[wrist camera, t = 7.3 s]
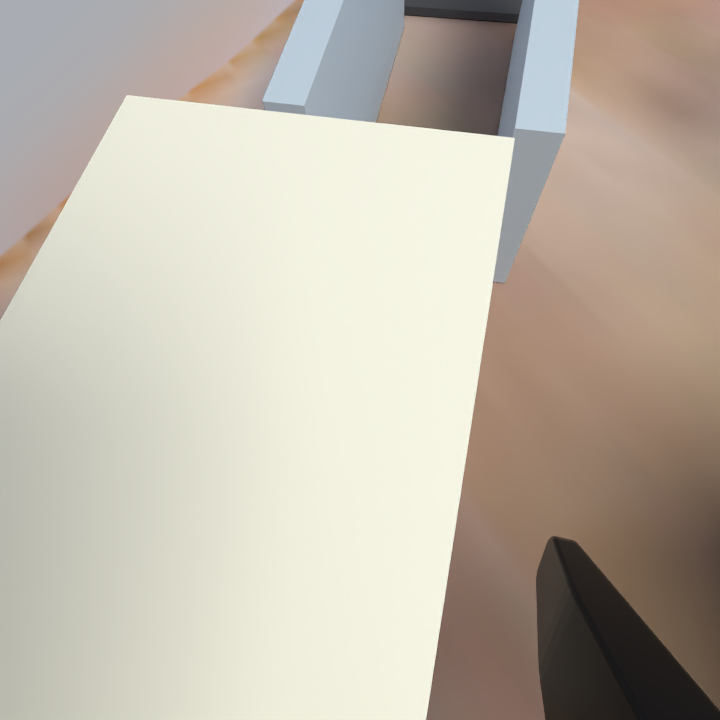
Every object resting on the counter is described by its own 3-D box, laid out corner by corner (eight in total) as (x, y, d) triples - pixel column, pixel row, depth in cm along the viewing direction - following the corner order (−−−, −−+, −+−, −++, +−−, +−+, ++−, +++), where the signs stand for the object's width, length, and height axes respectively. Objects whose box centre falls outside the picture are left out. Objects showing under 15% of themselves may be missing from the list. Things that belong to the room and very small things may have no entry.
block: (391, 654, 14) (361, 1141, 2) (246, 612, 14) (-297, 845, 3) (433, 422, 16) (515, 137, 5) (308, 396, 17) (127, 95, 6)
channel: (504, 283, 18) (565, 133, 11) (308, 252, 19) (261, 101, 13) (539, 37, 23) (596, -166, 16) (381, 25, 24) (374, -168, 17)
